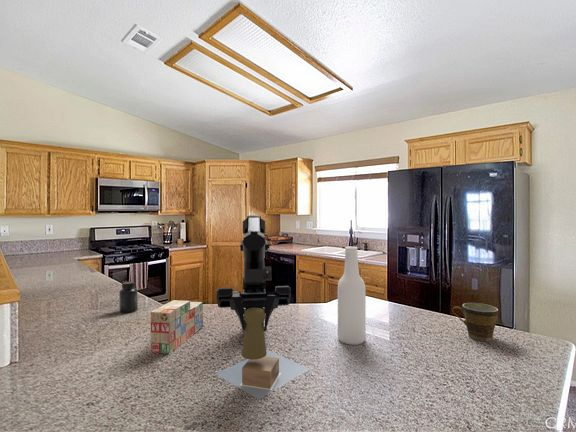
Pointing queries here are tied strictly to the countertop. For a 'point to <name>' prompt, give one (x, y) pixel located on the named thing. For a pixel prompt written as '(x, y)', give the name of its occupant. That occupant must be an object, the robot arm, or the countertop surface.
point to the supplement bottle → (128, 298)
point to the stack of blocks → (174, 324)
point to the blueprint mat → (234, 376)
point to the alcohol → (351, 301)
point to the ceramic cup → (479, 320)
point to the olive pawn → (254, 334)
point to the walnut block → (260, 372)
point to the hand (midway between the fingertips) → (254, 328)
